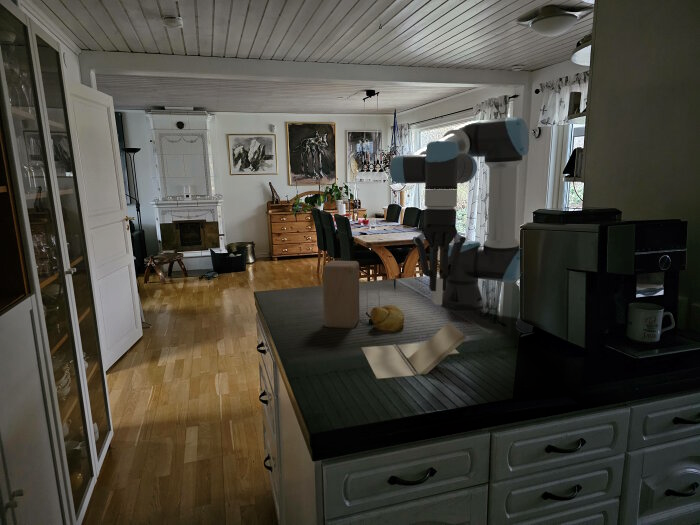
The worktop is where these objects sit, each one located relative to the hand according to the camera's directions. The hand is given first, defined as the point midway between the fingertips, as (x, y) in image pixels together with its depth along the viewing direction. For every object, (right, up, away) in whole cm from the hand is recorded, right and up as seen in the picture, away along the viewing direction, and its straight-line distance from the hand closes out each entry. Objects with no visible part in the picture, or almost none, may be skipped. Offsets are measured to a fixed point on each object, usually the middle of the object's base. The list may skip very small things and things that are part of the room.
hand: (437, 303), depth 107 cm
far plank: (-1, -14, +8) cm, 16 cm away
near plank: (0, -11, -3) cm, 12 cm away
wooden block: (-24, -10, +33) cm, 42 cm away
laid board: (-12, -15, +1) cm, 20 cm away
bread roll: (-9, -11, +28) cm, 31 cm away
